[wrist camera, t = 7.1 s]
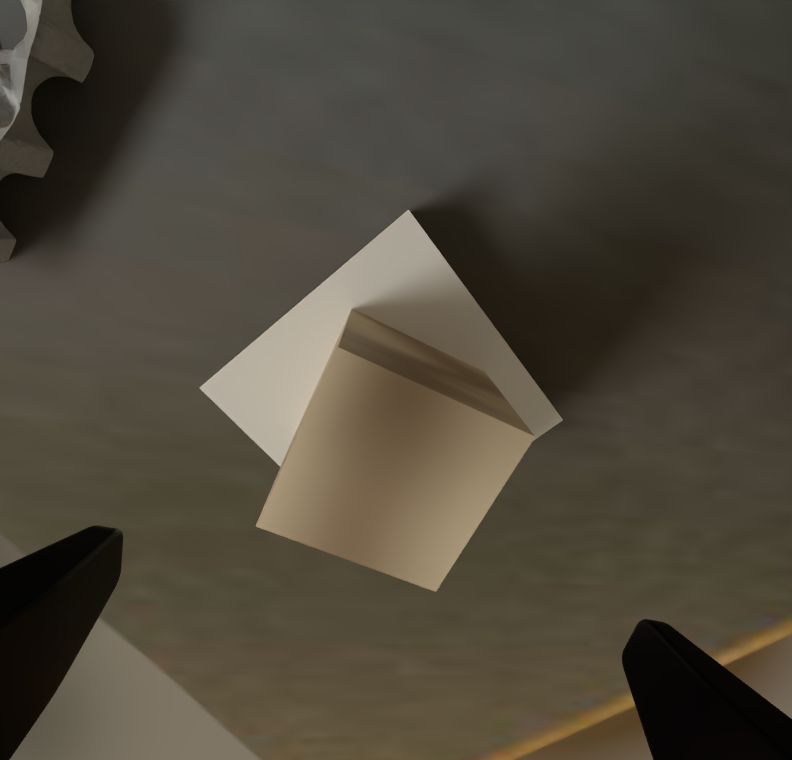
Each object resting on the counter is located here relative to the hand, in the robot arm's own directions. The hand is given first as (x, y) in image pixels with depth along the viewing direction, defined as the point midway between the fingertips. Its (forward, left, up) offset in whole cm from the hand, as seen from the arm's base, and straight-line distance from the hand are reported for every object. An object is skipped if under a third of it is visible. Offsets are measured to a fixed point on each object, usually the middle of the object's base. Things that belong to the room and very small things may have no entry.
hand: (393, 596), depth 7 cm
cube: (0, 0, -8) cm, 8 cm away
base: (0, 0, -11) cm, 11 cm away
